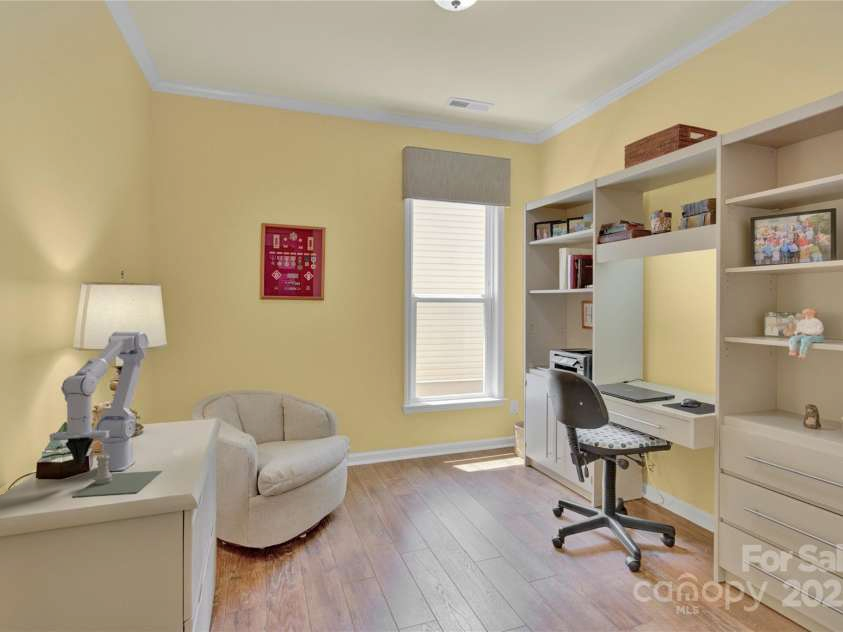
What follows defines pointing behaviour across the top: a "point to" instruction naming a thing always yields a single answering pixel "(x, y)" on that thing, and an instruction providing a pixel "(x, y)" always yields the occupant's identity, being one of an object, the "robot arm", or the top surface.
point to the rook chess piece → (102, 470)
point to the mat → (120, 484)
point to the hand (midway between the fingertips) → (80, 464)
